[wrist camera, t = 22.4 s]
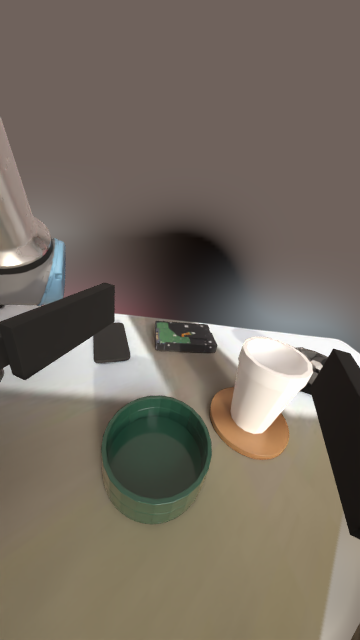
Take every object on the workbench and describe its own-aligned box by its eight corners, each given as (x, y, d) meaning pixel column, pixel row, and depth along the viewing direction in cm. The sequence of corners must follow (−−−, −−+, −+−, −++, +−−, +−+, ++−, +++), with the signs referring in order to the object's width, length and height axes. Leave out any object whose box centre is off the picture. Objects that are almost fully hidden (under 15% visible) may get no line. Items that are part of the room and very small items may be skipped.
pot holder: (201, 391, 40) (202, 387, 40) (261, 390, 43) (263, 386, 43) (224, 463, 29) (226, 459, 29) (304, 455, 32) (307, 452, 31)
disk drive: (205, 332, 61) (154, 328, 58) (207, 324, 60) (155, 320, 57) (215, 354, 52) (155, 351, 49) (218, 345, 51) (156, 341, 48)
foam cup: (259, 393, 41) (284, 337, 35) (290, 440, 33) (329, 377, 27) (213, 396, 38) (232, 336, 32) (234, 446, 30) (264, 379, 24)
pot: (109, 417, 33) (109, 396, 31) (192, 413, 36) (197, 394, 33) (92, 533, 21) (90, 513, 19) (217, 514, 24) (227, 495, 22)
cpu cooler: (352, 385, 39) (295, 367, 42) (337, 406, 42) (284, 388, 44) (335, 355, 48) (289, 342, 51) (324, 374, 51) (280, 361, 53)
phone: (93, 361, 42) (93, 323, 54) (93, 364, 42) (93, 326, 54) (131, 357, 45) (123, 322, 57) (131, 360, 45) (123, 324, 57)
